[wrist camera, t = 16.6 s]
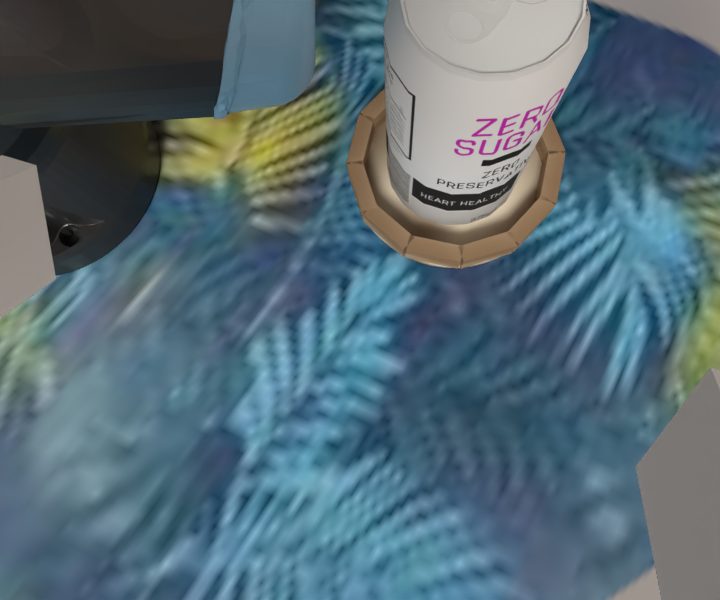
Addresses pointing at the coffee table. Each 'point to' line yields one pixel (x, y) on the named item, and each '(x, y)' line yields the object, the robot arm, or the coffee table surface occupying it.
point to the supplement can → (472, 96)
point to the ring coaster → (449, 241)
